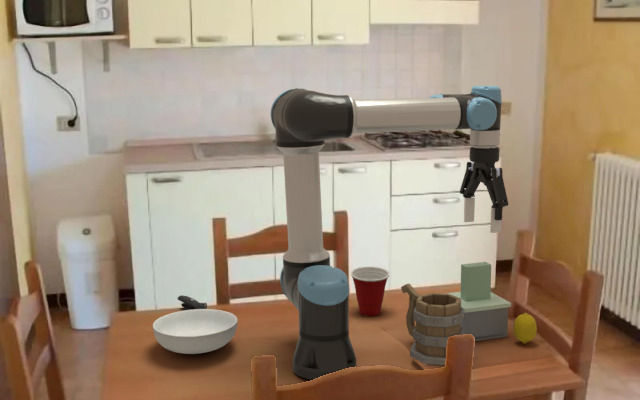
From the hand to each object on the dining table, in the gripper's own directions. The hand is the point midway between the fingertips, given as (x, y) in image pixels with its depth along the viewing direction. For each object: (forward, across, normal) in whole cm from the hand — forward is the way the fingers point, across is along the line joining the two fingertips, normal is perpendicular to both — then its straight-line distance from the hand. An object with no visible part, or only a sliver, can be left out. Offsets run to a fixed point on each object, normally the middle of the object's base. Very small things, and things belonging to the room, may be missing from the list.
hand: (481, 227), depth 204 cm
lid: (+19, -6, +5) cm, 21 cm away
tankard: (+27, -13, +22) cm, 37 cm away
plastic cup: (+27, +17, +24) cm, 40 cm away
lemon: (+26, -18, -3) cm, 32 cm away
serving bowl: (+27, +9, +74) cm, 80 cm away
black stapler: (+27, +34, +72) cm, 84 cm away
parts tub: (+26, -6, +5) cm, 27 cm away
